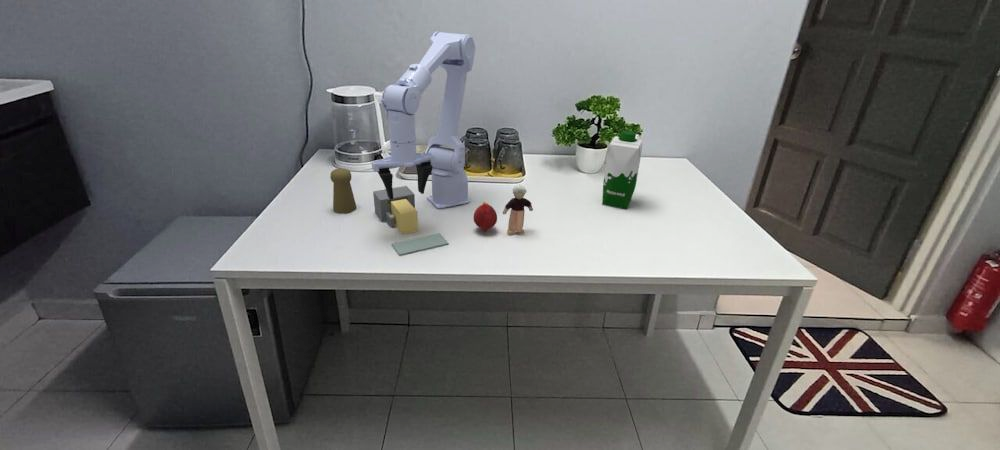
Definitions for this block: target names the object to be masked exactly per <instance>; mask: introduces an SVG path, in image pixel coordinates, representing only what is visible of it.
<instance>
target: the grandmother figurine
mask: <svg viewBox="0 0 1000 450" xmlns="http://www.w3.org/2000/svg"><path fill="white" fill-rule="evenodd" d="M526 193H527V189H526V187H525V186H523V185H522V184H516V185H514V186H513V187H512V194H513V196H514V197H512V198H511V199H510V200H509V201H508V202H507V203H506V204H505V206H504V208H503V211H502V214H503V215H506V214H507V213H508V211H509V210H510V209H511V210H510V214H509V218H508V219H509V220H508V225H507V227H508V229H507V231H506V234H507V235H509V236H512V235H515V233H517V234H518V235H520V234H525V230H524V229H523V228H524V223H525V207H526V208H527V209H528V210H529V211H530V212H532V211H533V210H534V208H533V205H532V202H531V201H530V200H528V199H527V198H525V197H524V196H525V195H526Z"/></svg>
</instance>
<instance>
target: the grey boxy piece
mask: <svg viewBox="0 0 1000 450" xmlns="http://www.w3.org/2000/svg"><path fill="white" fill-rule="evenodd" d="M392 189H393V199H389V197H388V195H387V191H386V188H385V189H379V190H374V191H373V194H372V195H373V204H374V212H375V214H376V216H377V217H378V218H379V220H380V221H381V222H387V223H386V224H388V225H389V227H390V228H395V226H396V225H395V220H394V215H392V213H391V201H397V200H402V199H407V201H408V202H409V203H410V204H411V205H412V206H413V207H414V208H415V209H416V199H415V193H414V192H413V191H412V190H411V189H410V188H409V187H408V185H403V186H398V187H392Z"/></svg>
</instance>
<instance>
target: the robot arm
mask: <svg viewBox="0 0 1000 450" xmlns="http://www.w3.org/2000/svg"><path fill="white" fill-rule="evenodd" d="M475 52H476V45H475V41H474V38H473V37H472V35H471V34H469V33H466V34H462V33H454V32H453V33H452V32H442V31H439V30H438V31H437V30H436V31H435V32H433V34H432V35H431V37H430V39H429V48H428V49H427V51H426V53H425V54H424V56H423V57H422V59H421V60H420V62H419V63H413V64H412V63H411V64H410V65H409V66H408V68H407V69H406V71H405V72H404V73H403V74H402V75H401V76H400V78H399V79H398V80H397V81H396V83H394V84H389V85H388V86H386V87H385V88H384V89H383V91H382V96H381V99H380V102H381V106H382V108H383V109H384V112H385V118H386V119H387V120H388V128H389V129H388V132H389V147H390V156H388V157H385V158H381V159H376V160H371V169H372V171H373V172H375V173H376V172H377V174H378V175H379V177H380V179H381V181H382V183H383V185H384V188H385V189H386V191H387V195H388V197H389V199H393V189H392V188H393V177H394V175H393V174H392V172H391V170H390V169H396V168H402V167H403V168H404V167H406V168H409V167H414V166H416V175H417V190H418V192H419V193H420V194H421V195H422V194H423V195H424V193H425V189H426V185H427V182H428V179H429V177H430V175H431V192H432V193H431V195H428V196H427V197H426V198H427V200H428V201H429V202H430V203H431V204H432V205H433V206H435V208H436V209H438V210H440V209H445V208H450V207H454V206H455V207H456V206H460V205H465V204H469V203H470V201H469V198H468V197H469V192H468V191H469V181H468V180H469V178H468V175H467V172H466V171H465V169H464V167H465V164H466V153H465V152H466V145H465V144H464V143H463V142H462V141H461V140H460V139H459V137H458V133H459V127H460V120H461V115H462V108H463V103H464V96H465V90H466V82H467V77H468V73H469V72H471V71H472V69H473V65H474V60H475ZM439 67H440V68H441V69H444V70H445V72H446V80H445V86H444V92H443V99H442V100H443V101H442V105H441V113H440V119H439V125H438V132H437V134H436V135H434V136H433V137H431V138H430V139H429V140H428V143H427V146H426V150H425V152H424V153H417V141H416V120H415V113H416V112H417V111H418V109H419V107H420V102H421V100H422V95H423V93H424V92H425V91H426V90H427V88H429V86H430V85H431V83H432V80H433V79H432V74H433V73H434V72H435V71H436V70H437V69H438V68H439ZM444 146H446V147H444ZM449 147H451V148H449Z"/></svg>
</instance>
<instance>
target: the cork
mask: <svg viewBox="0 0 1000 450" xmlns="http://www.w3.org/2000/svg"><path fill="white" fill-rule="evenodd" d="M329 179H330V181H331V182H332V183H333V188H332V189H333V194H332V195H333V199H332V200H333V201H332V202H333V203H332V205H333V206H332V210H333V212H334V213H336V214H340V215H341V214H350V213H353V212H355V211H356V210H357V209H358V208H357V203H356V200H355V194H354V192H353V188H352V185H351V180H352V173H351V170H349V169H347V168H342V167H341V168H335V169H333V170H332V171H331V172H330V178H329Z"/></svg>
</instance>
